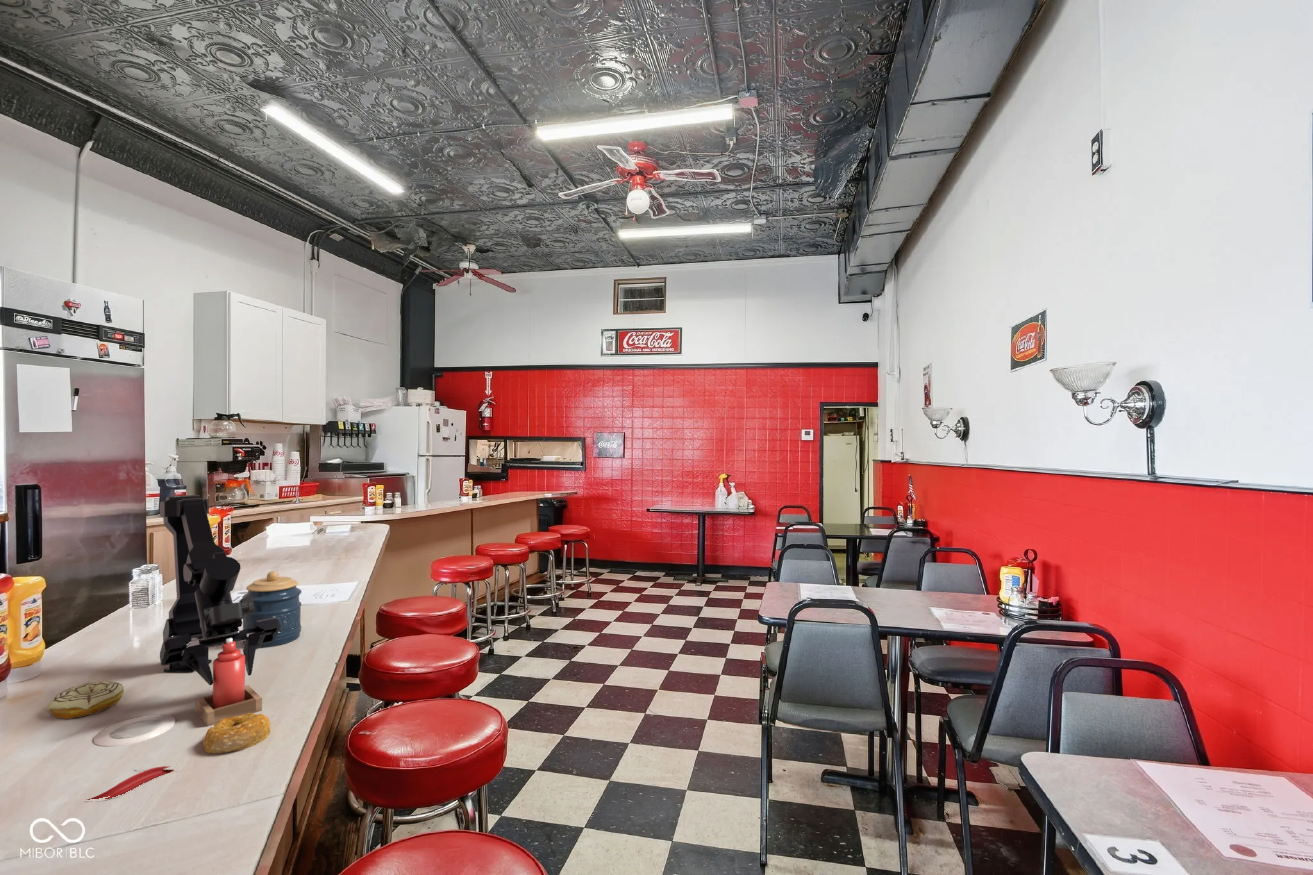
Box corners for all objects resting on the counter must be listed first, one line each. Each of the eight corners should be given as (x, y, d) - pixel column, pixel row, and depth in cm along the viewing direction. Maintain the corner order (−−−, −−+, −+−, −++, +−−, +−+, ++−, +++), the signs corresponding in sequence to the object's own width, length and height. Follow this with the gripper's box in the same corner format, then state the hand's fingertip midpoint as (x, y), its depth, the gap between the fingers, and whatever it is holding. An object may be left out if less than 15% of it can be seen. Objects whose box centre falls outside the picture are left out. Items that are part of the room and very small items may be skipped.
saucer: (75, 748, 103) (75, 744, 103) (131, 718, 114) (131, 714, 114) (139, 750, 103) (139, 745, 103) (190, 719, 114) (190, 715, 114)
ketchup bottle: (206, 716, 114) (206, 643, 114) (225, 704, 119) (225, 634, 119) (232, 717, 114) (233, 643, 114) (250, 705, 119) (251, 634, 119)
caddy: (195, 714, 116) (195, 698, 116) (248, 699, 123) (248, 685, 123) (207, 729, 111) (207, 712, 110) (261, 713, 117) (262, 697, 117)
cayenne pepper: (80, 811, 87) (80, 798, 87) (79, 797, 91) (79, 784, 91) (185, 778, 96) (185, 766, 96) (180, 767, 99) (181, 755, 99)
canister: (306, 629, 166) (306, 564, 166) (294, 645, 154) (295, 575, 153) (250, 633, 162) (251, 567, 162) (234, 650, 150) (234, 578, 149)
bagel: (277, 723, 113) (277, 698, 113) (264, 753, 103) (263, 725, 103) (213, 733, 110) (212, 707, 110) (192, 765, 99) (192, 736, 99)
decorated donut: (31, 722, 113) (31, 701, 113) (82, 696, 124) (82, 678, 123) (91, 720, 114) (91, 700, 114) (136, 695, 124) (136, 677, 124)
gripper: (163, 595, 112) (176, 671, 105) (278, 577, 126) (296, 644, 119) (154, 628, 117) (166, 702, 110) (265, 608, 131) (282, 673, 124)
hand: (231, 679), depth 116 cm, fingers open, 6 cm apart
